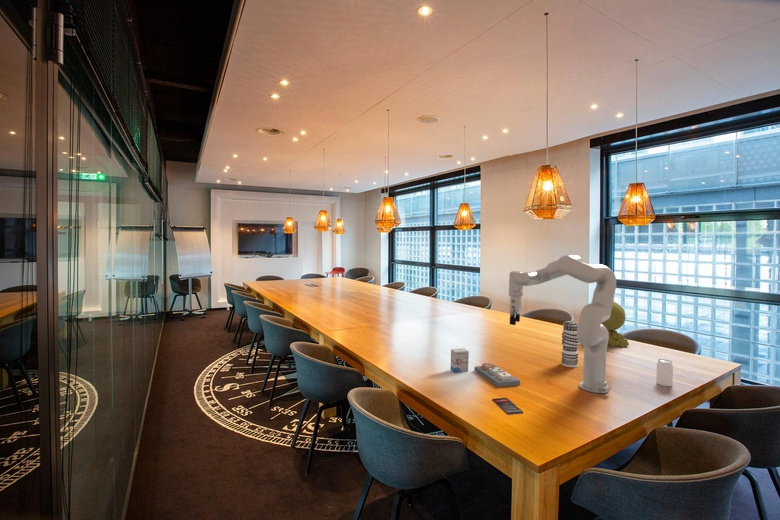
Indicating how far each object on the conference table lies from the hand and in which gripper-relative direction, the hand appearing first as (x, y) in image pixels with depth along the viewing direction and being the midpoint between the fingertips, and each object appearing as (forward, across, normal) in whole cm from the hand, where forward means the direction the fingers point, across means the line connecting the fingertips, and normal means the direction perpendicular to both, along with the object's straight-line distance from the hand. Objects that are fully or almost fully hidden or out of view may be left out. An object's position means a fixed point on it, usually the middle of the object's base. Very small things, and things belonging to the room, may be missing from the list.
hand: (514, 323), depth 214 cm
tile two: (+22, -25, +3) cm, 34 cm away
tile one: (+22, -30, -3) cm, 37 cm away
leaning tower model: (+24, +18, -28) cm, 41 cm away
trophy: (+24, +83, -44) cm, 97 cm away
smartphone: (+25, -56, -11) cm, 62 cm away
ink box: (+25, -26, +23) cm, 42 cm away
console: (+24, -25, +3) cm, 35 cm away
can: (+24, +10, -71) cm, 75 cm away
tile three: (+22, -20, +8) cm, 31 cm away
